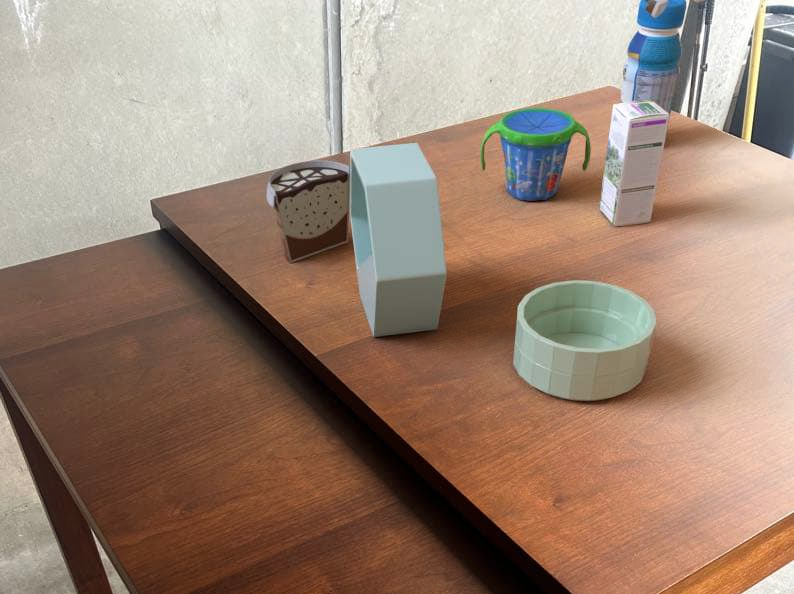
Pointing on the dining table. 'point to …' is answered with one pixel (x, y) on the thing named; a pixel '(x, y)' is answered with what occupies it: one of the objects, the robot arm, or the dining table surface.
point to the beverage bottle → (654, 56)
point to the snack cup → (535, 150)
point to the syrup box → (633, 162)
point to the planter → (397, 238)
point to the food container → (310, 206)
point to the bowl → (583, 339)
